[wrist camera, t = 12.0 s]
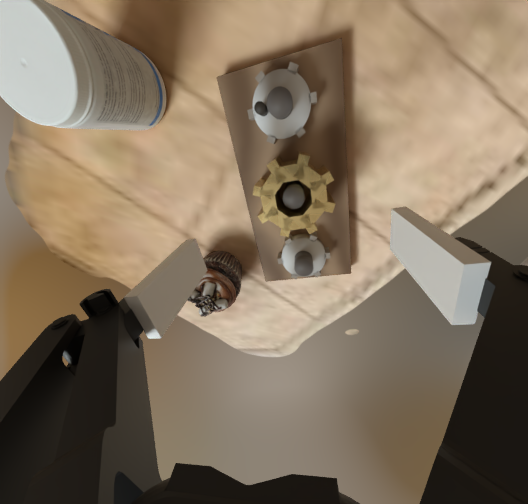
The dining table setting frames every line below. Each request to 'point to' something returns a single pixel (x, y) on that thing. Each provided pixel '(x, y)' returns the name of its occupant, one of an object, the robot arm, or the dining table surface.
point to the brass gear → (312, 204)
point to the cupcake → (217, 283)
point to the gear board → (293, 153)
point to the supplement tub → (74, 72)
